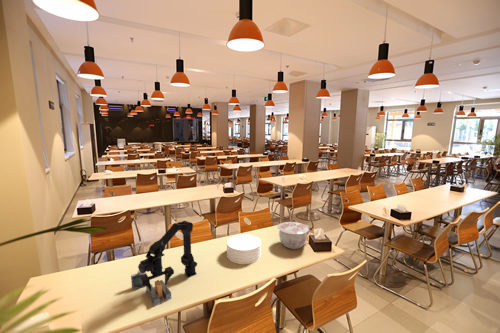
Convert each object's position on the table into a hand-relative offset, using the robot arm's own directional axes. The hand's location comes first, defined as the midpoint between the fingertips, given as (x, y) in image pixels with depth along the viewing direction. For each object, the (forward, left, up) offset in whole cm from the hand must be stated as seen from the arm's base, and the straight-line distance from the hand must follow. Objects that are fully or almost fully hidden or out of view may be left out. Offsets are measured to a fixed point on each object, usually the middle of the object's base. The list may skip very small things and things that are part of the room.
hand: (158, 288), depth 145 cm
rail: (0, 0, -5) cm, 5 cm away
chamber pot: (-115, +10, -5) cm, 116 cm away
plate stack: (-71, -5, -5) cm, 71 cm away
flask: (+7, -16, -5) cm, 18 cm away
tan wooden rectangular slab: (0, 0, -4) cm, 4 cm away
